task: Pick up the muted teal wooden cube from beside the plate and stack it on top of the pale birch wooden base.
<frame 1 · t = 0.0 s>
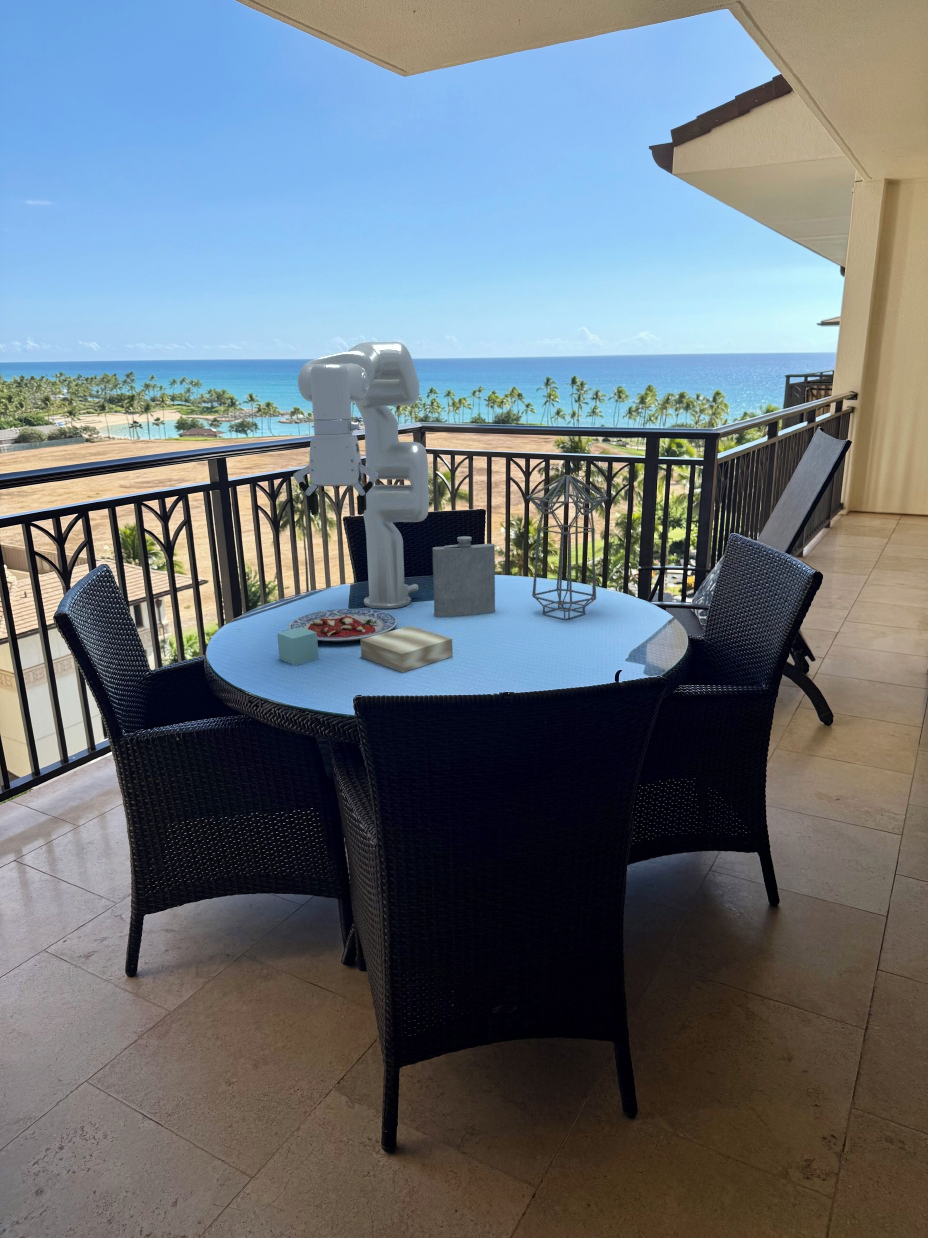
hand: (338, 514, 166), 31 cm above the table, tool pointing down, fingers open, 9 cm apart
geometric lantern: (565, 613, 206), on the table
hip flask: (465, 614, 207), on the table
ceramic plate: (343, 632, 195), on the table
teal cube: (299, 659, 175), on the table
birch base: (406, 656, 175), on the table
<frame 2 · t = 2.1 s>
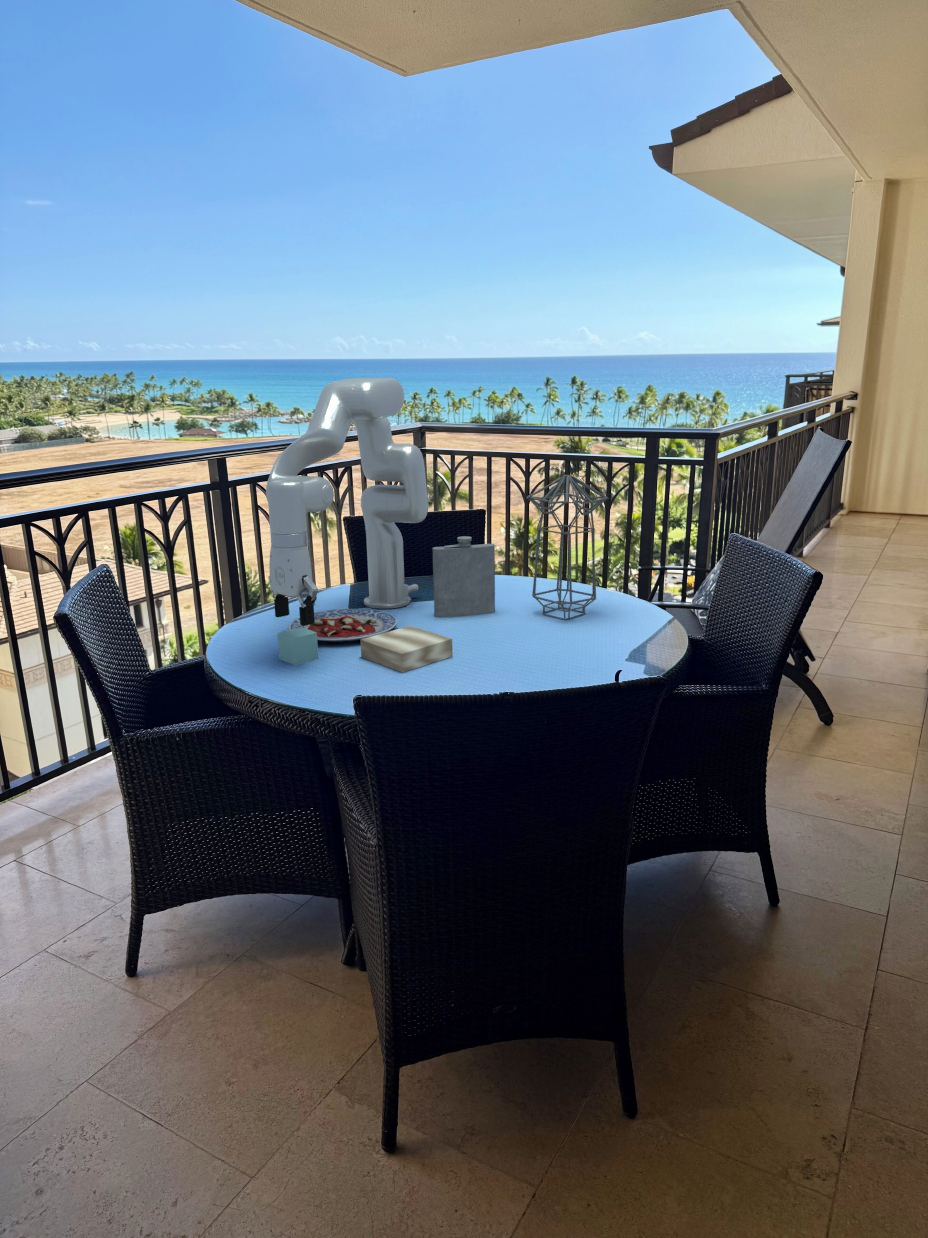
hand: (294, 620, 172), 9 cm above the table, tool pointing down, fingers open, 9 cm apart
nothing on the table moved.
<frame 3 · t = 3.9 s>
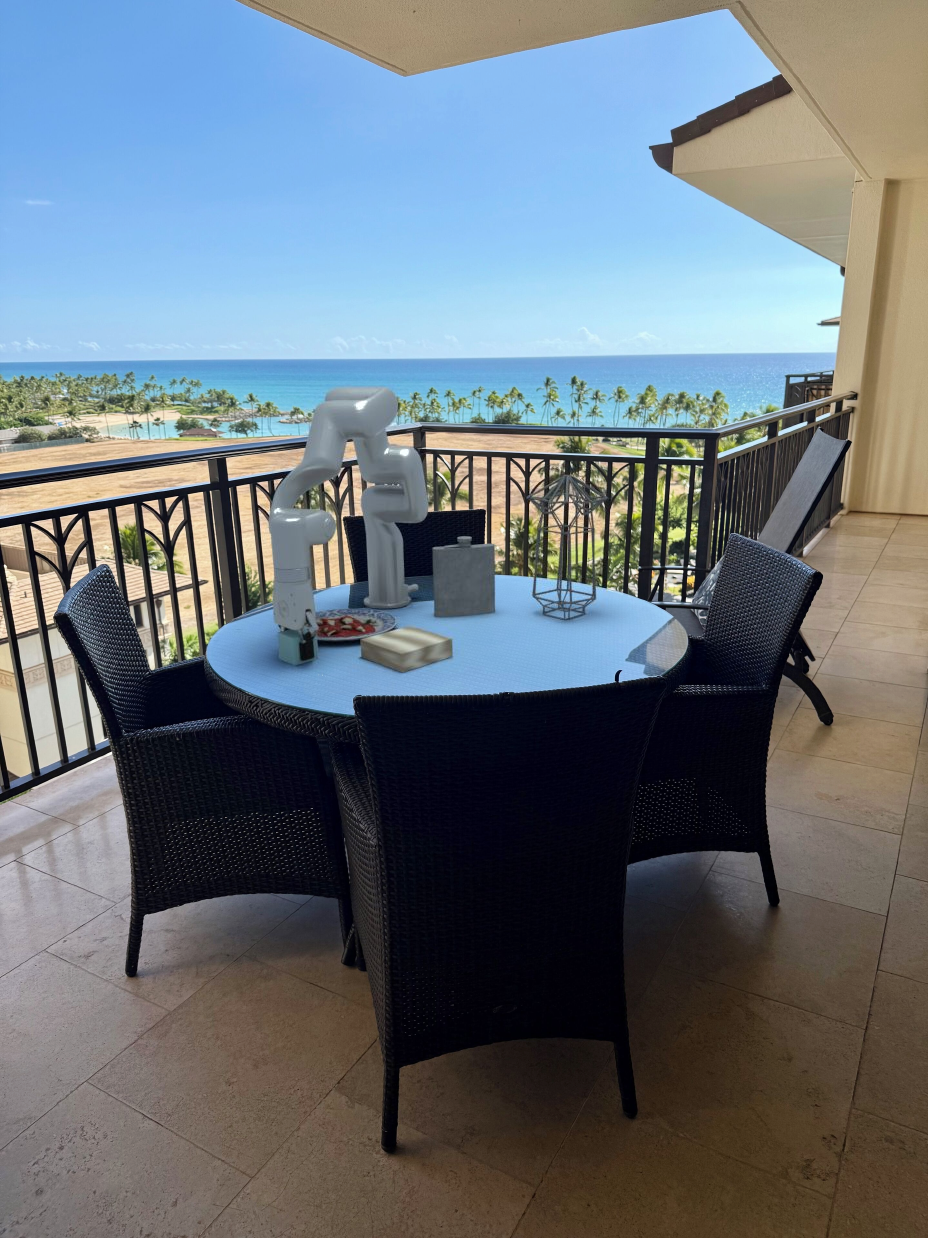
hand: (298, 654, 175), 1 cm above the table, tool pointing down, fingers closed on teal cube, 6 cm apart
teal cube: (298, 658, 175), on the table, touching gripper
everything else where it was.
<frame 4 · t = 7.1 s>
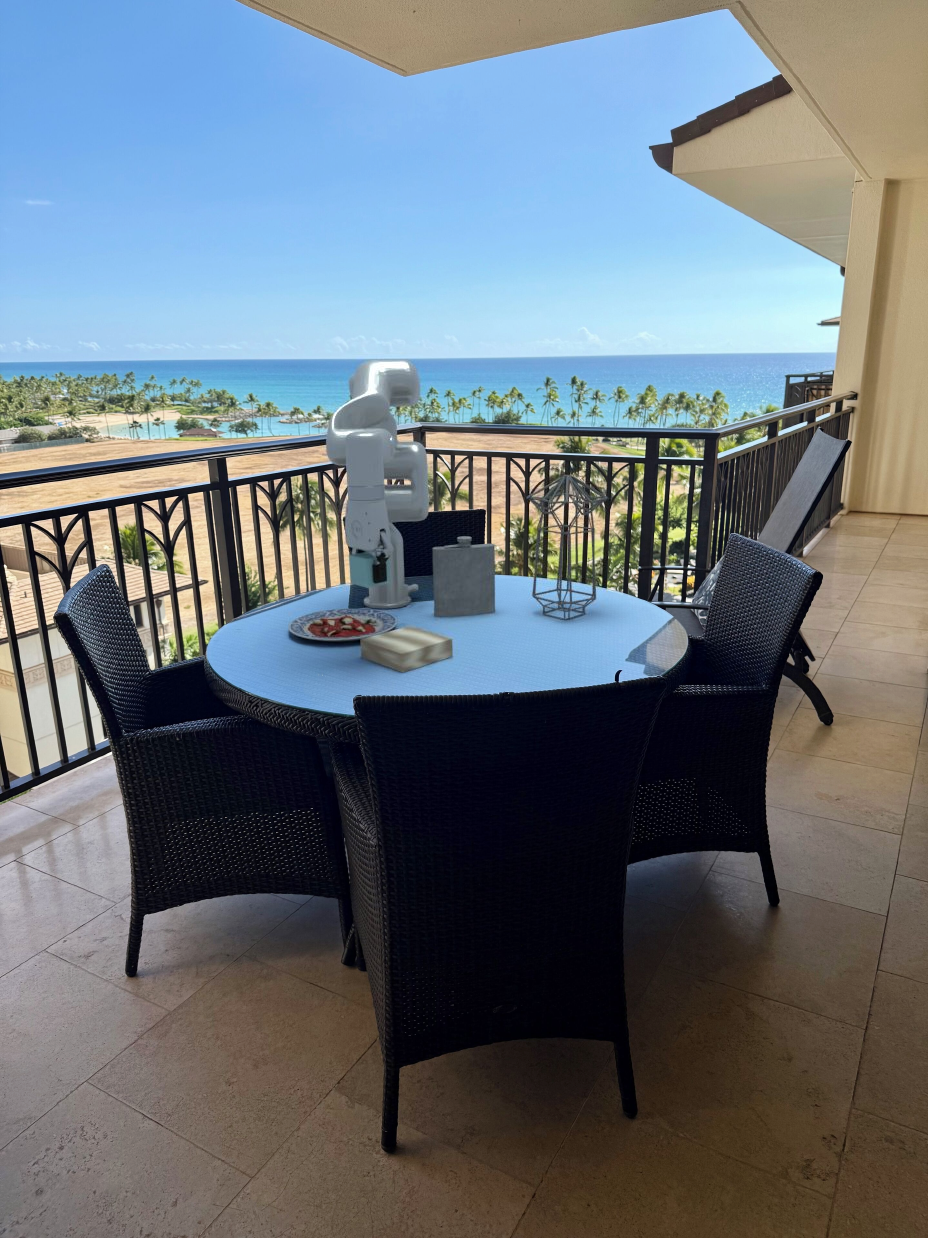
hand: (370, 578, 170), 17 cm above the table, tool pointing down, fingers closed on teal cube, 6 cm apart
teal cube: (370, 582, 170), point 17 cm above the table, touching gripper
everything else where it was.
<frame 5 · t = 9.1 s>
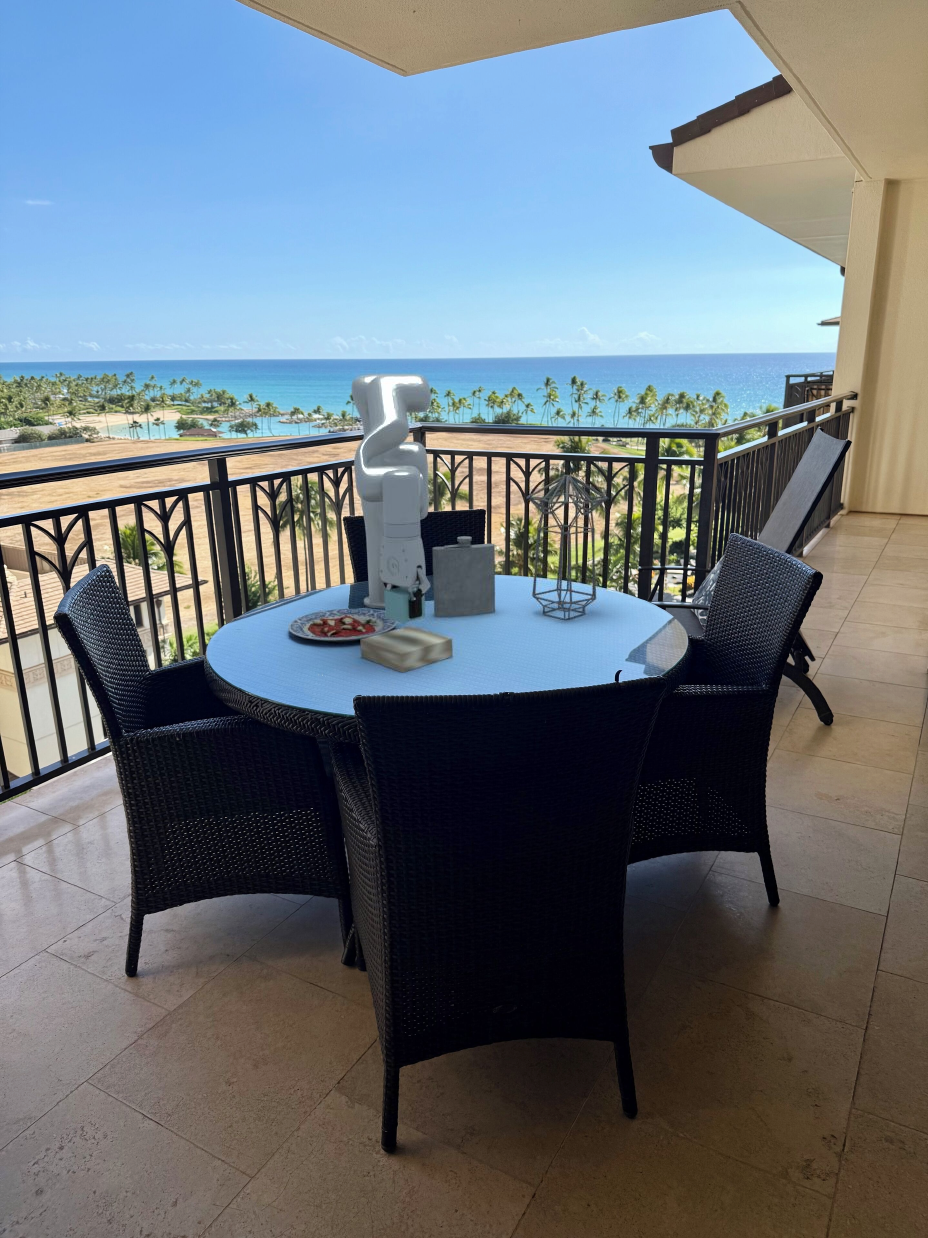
hand: (405, 613, 172), 10 cm above the table, tool pointing down, fingers closed on teal cube, 6 cm apart
teal cube: (405, 617, 172), point 9 cm above the table, touching gripper
everything else where it was.
when the fingers open (6 cm above the table, at t = 10.7 s): teal cube drops 1 cm, resting on birch base.
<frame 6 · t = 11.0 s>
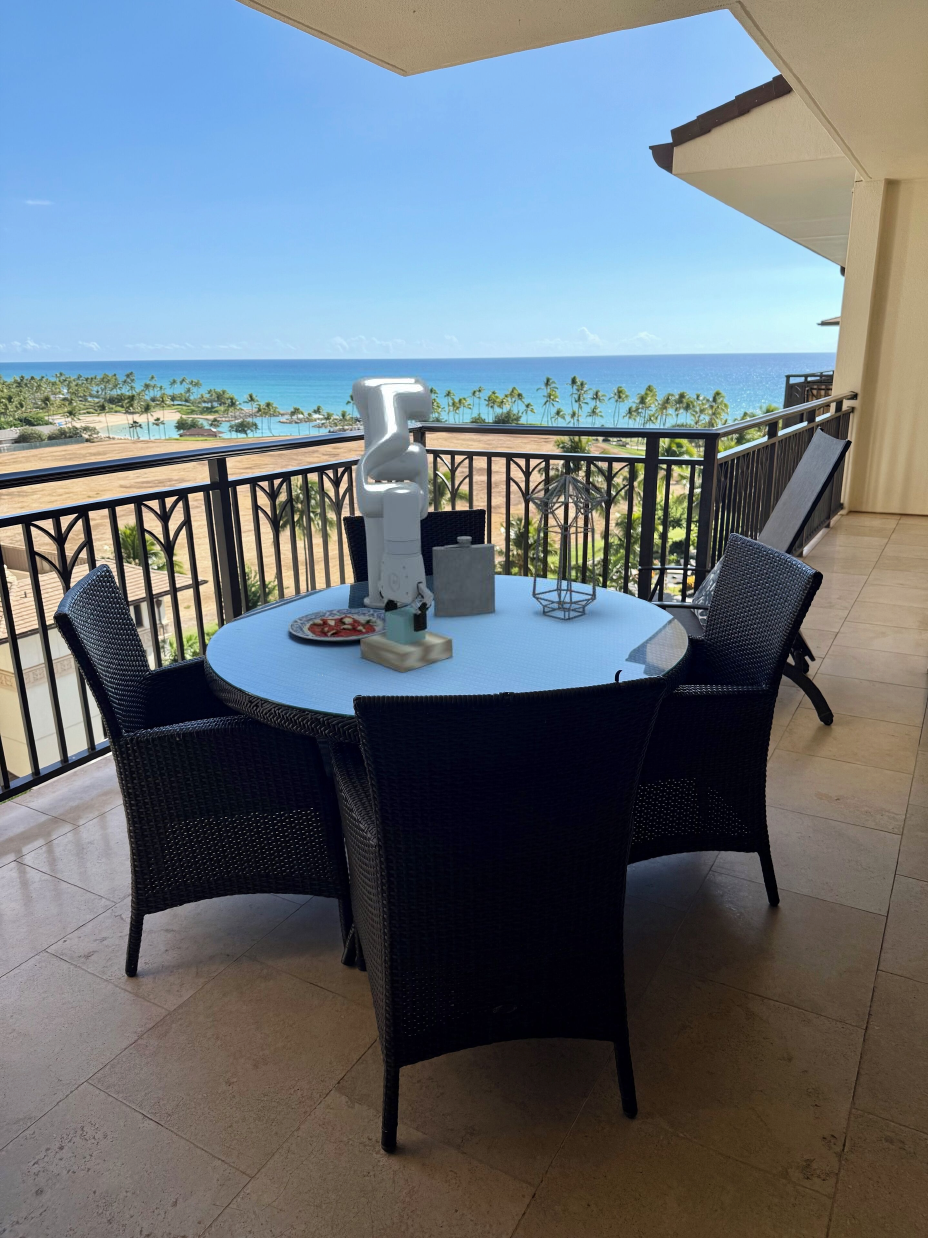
hand: (405, 625, 173), 7 cm above the table, tool pointing down, fingers open, 9 cm apart
teal cube: (406, 639, 174), point 4 cm above the table, touching birch base
everything else where it was.
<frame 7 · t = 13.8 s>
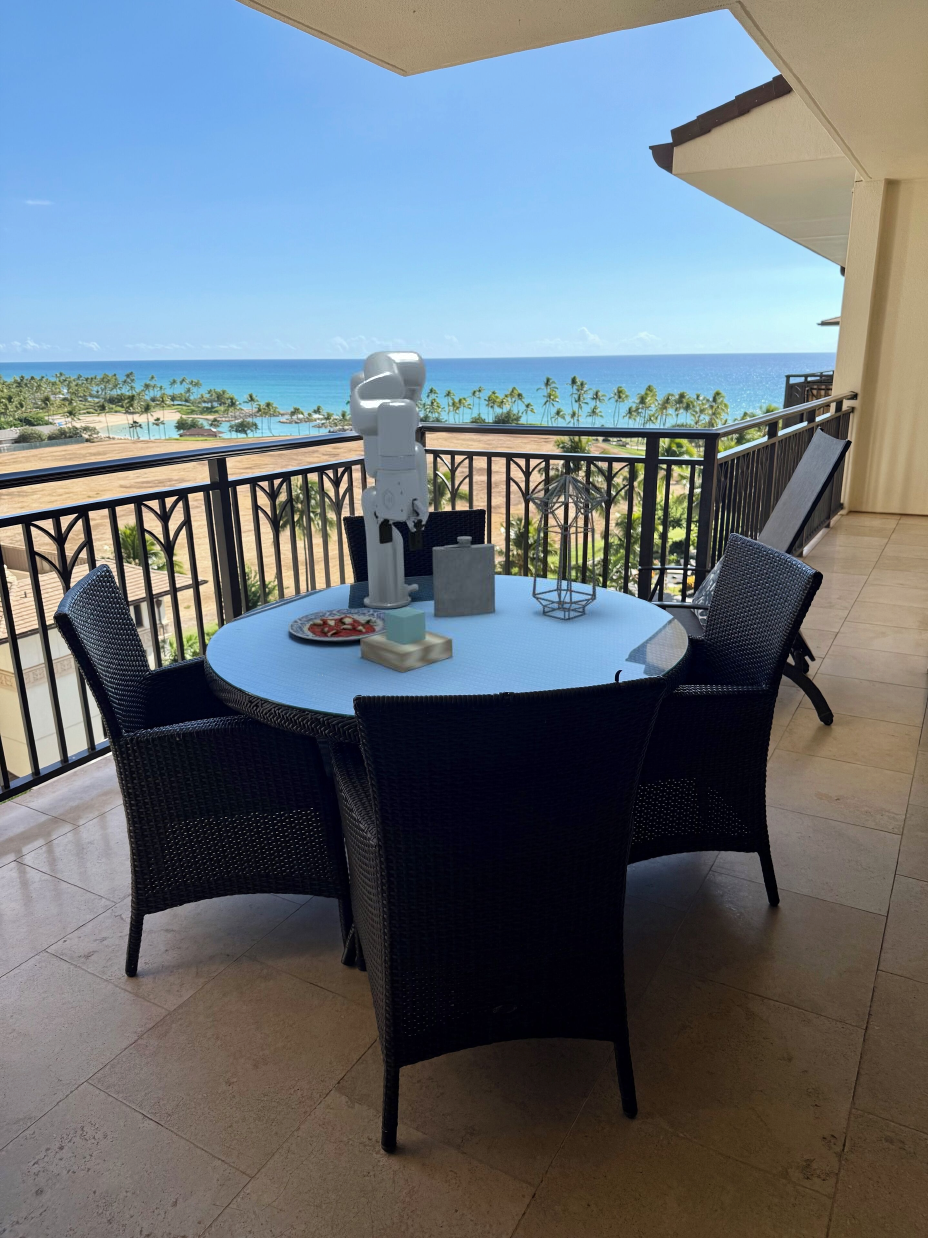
hand: (400, 546, 170), 24 cm above the table, tool pointing down, fingers open, 9 cm apart
nothing on the table moved.
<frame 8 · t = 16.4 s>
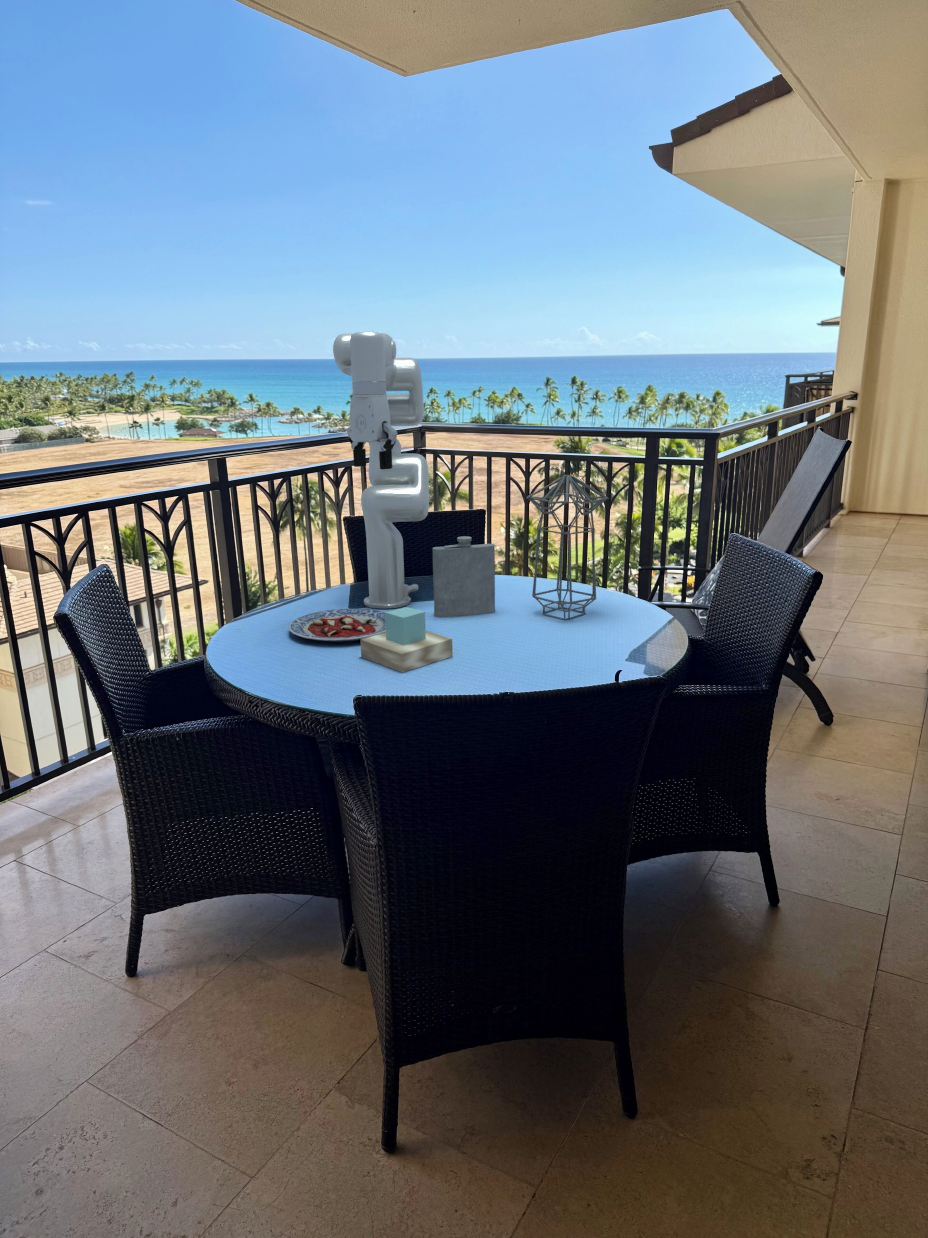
hand: (372, 467, 186), 38 cm above the table, tool pointing down, fingers open, 9 cm apart
nothing on the table moved.
at the end: teal cube inside the target area on the birch base (0.1 cm from its centre), point 4.0 cm above the birch base's base; teal cube tilted 0°; the gripper is holding nothing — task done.
